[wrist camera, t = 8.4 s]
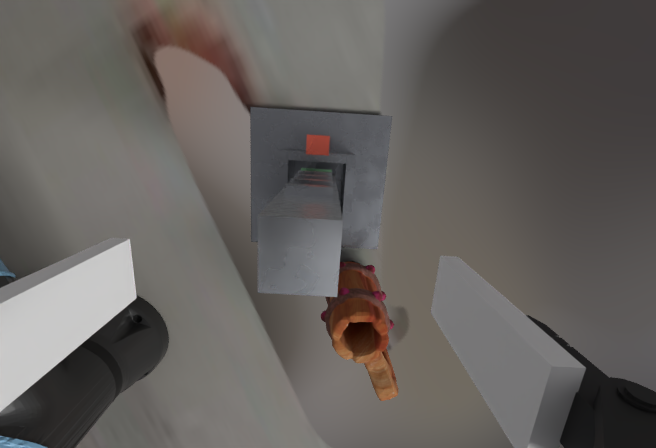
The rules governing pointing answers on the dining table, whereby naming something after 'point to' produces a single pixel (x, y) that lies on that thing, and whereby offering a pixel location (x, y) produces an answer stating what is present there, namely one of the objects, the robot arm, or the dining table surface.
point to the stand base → (323, 163)
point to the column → (301, 237)
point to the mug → (362, 325)
